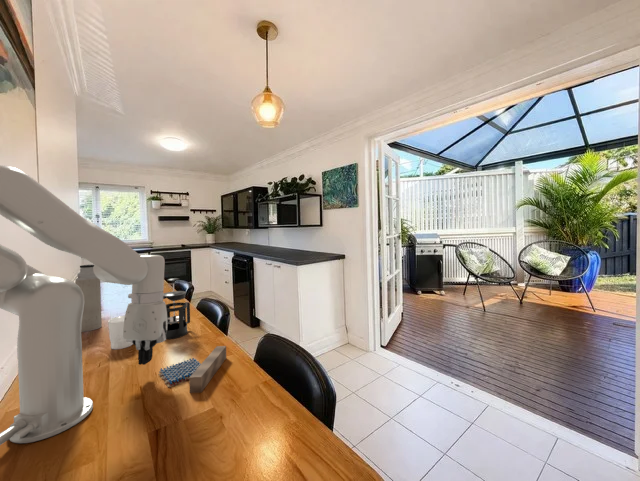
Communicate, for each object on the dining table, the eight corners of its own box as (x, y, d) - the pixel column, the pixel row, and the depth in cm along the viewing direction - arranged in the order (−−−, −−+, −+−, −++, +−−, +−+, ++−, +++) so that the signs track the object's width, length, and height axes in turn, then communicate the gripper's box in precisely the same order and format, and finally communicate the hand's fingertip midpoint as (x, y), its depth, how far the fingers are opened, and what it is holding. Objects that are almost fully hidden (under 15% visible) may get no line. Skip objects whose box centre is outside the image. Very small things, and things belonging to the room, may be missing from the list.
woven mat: (194, 362, 81) (194, 355, 81) (208, 374, 74) (208, 367, 74) (157, 375, 74) (157, 368, 74) (168, 390, 66) (168, 383, 66)
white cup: (121, 351, 88) (120, 323, 88) (103, 349, 90) (102, 321, 90) (141, 341, 96) (140, 315, 96) (124, 340, 98) (123, 314, 97)
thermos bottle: (98, 323, 116) (96, 263, 115) (104, 327, 112) (102, 264, 111) (74, 329, 109) (72, 265, 109) (80, 333, 105) (78, 266, 104)
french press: (168, 341, 96) (167, 281, 95) (154, 337, 100) (152, 279, 100) (196, 331, 106) (195, 276, 106) (182, 327, 111) (180, 275, 110)
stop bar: (201, 392, 65) (201, 377, 65) (189, 392, 65) (189, 377, 65) (226, 358, 83) (226, 345, 83) (217, 358, 83) (216, 346, 83)
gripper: (110, 300, 69) (107, 368, 68) (166, 301, 69) (163, 369, 68) (131, 295, 76) (128, 356, 75) (181, 295, 76) (178, 357, 76)
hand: (145, 362), depth 72 cm, fingers closed
